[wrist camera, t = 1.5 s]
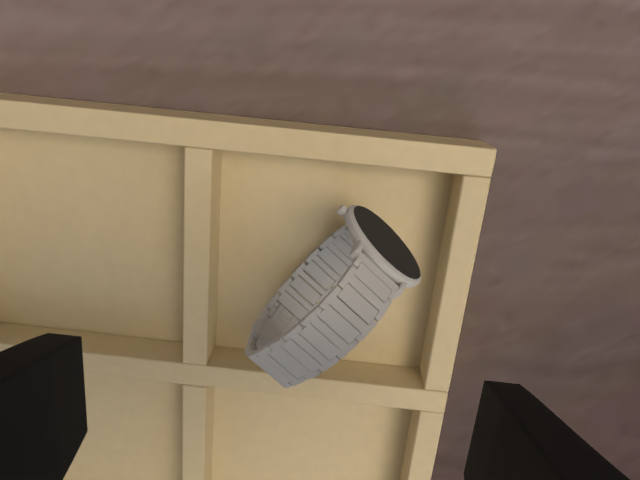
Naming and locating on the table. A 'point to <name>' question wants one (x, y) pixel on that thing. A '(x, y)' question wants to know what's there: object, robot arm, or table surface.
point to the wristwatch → (332, 299)
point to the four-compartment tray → (230, 283)
